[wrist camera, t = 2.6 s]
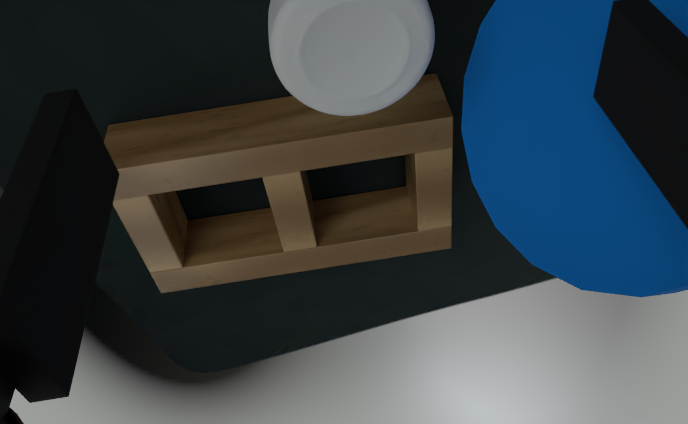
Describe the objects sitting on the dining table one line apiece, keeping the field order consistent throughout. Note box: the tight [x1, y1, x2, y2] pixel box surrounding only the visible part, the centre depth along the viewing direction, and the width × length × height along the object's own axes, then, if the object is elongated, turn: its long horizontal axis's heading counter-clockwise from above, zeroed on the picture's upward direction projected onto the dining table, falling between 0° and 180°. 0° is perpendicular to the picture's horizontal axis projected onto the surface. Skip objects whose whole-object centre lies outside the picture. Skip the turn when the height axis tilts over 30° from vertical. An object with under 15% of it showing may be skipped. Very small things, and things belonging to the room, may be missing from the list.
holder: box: [104, 73, 453, 293], centre depth 35 cm, size 10×18×4 cm, turn 97°
